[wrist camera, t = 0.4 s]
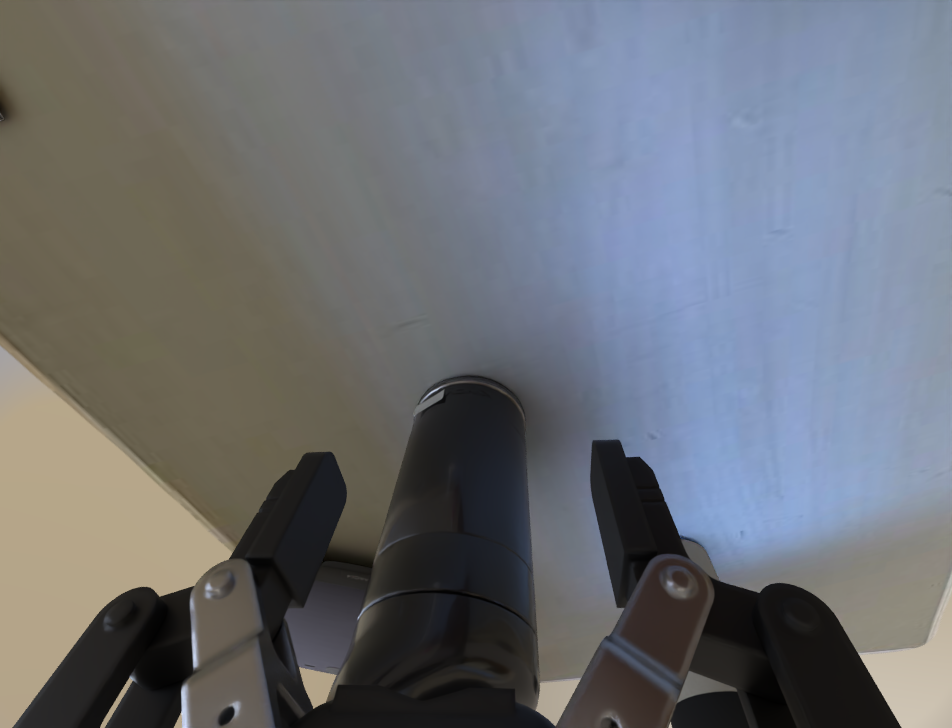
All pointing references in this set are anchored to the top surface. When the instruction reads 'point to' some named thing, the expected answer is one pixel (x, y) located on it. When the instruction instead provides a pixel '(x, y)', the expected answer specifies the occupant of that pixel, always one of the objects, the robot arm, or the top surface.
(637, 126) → the top surface
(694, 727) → the travel mug
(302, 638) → the bluetooth speaker
